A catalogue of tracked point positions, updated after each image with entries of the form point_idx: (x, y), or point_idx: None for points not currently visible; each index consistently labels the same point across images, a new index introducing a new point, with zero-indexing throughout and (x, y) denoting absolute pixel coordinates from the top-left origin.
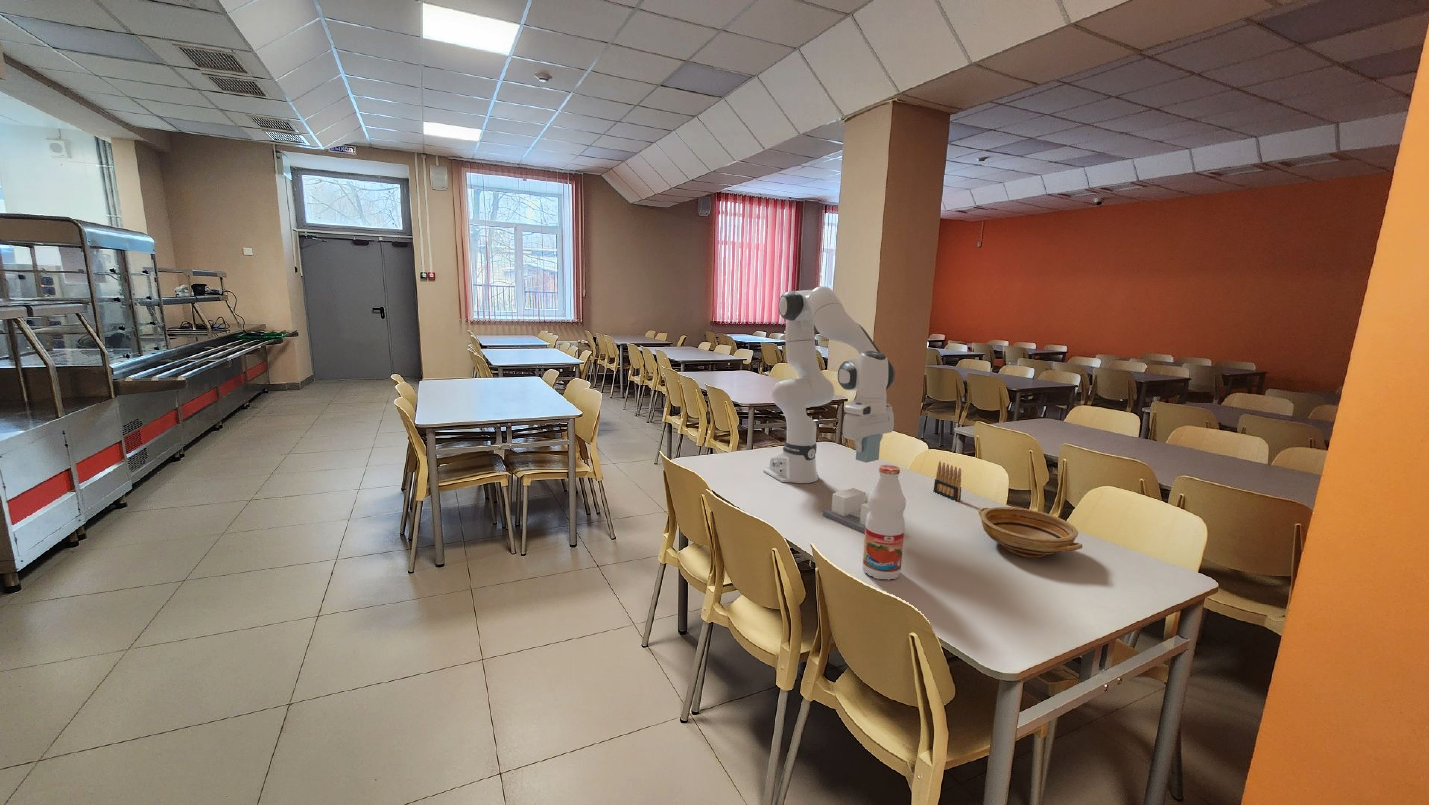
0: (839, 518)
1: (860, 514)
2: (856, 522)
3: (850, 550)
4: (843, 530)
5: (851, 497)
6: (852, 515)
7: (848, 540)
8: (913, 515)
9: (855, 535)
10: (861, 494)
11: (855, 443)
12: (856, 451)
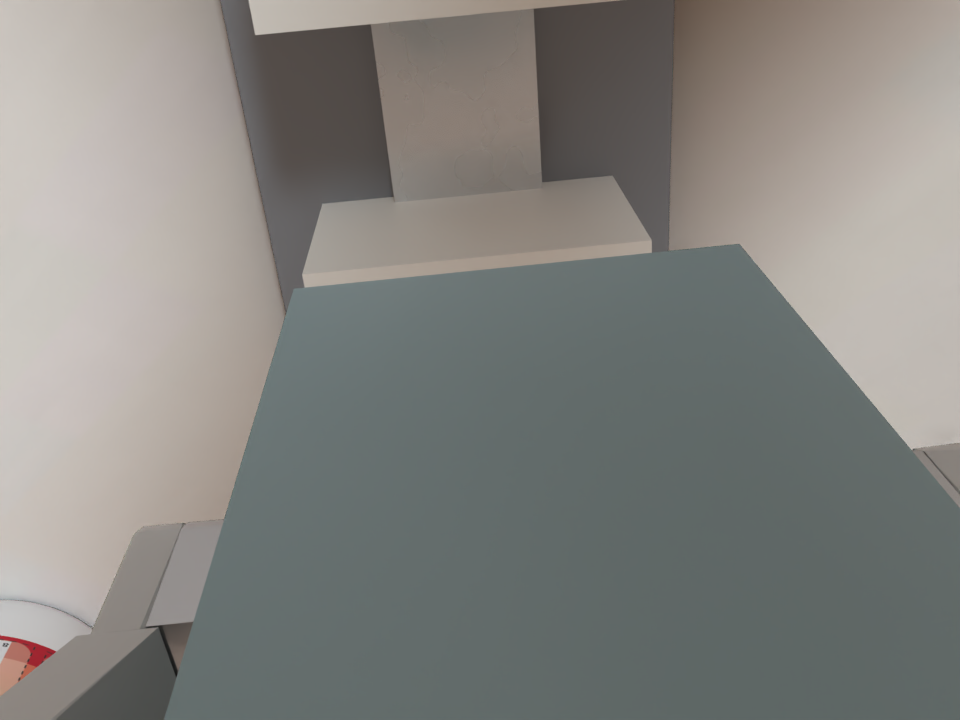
0: (224, 11)
1: (447, 85)
2: (306, 175)
3: (4, 433)
4: (161, 161)
5: (385, 19)
6: (374, 44)
7: (85, 317)
8: (950, 206)
9: (196, 277)
10: (576, 2)
11: (1, 705)
12: (265, 394)
